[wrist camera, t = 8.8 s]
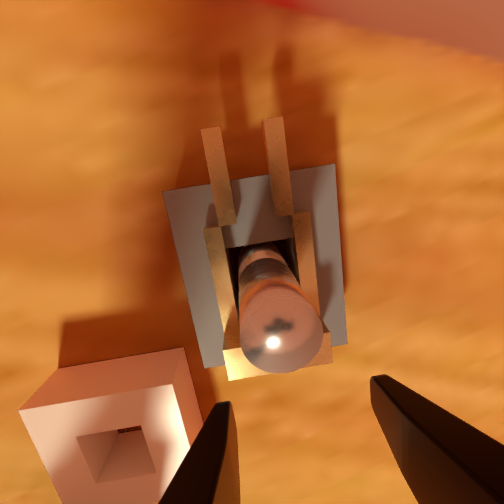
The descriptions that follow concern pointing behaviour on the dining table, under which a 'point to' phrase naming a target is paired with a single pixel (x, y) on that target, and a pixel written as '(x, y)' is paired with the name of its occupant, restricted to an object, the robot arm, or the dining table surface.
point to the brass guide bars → (226, 216)
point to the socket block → (252, 232)
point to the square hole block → (115, 427)
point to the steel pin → (274, 312)
